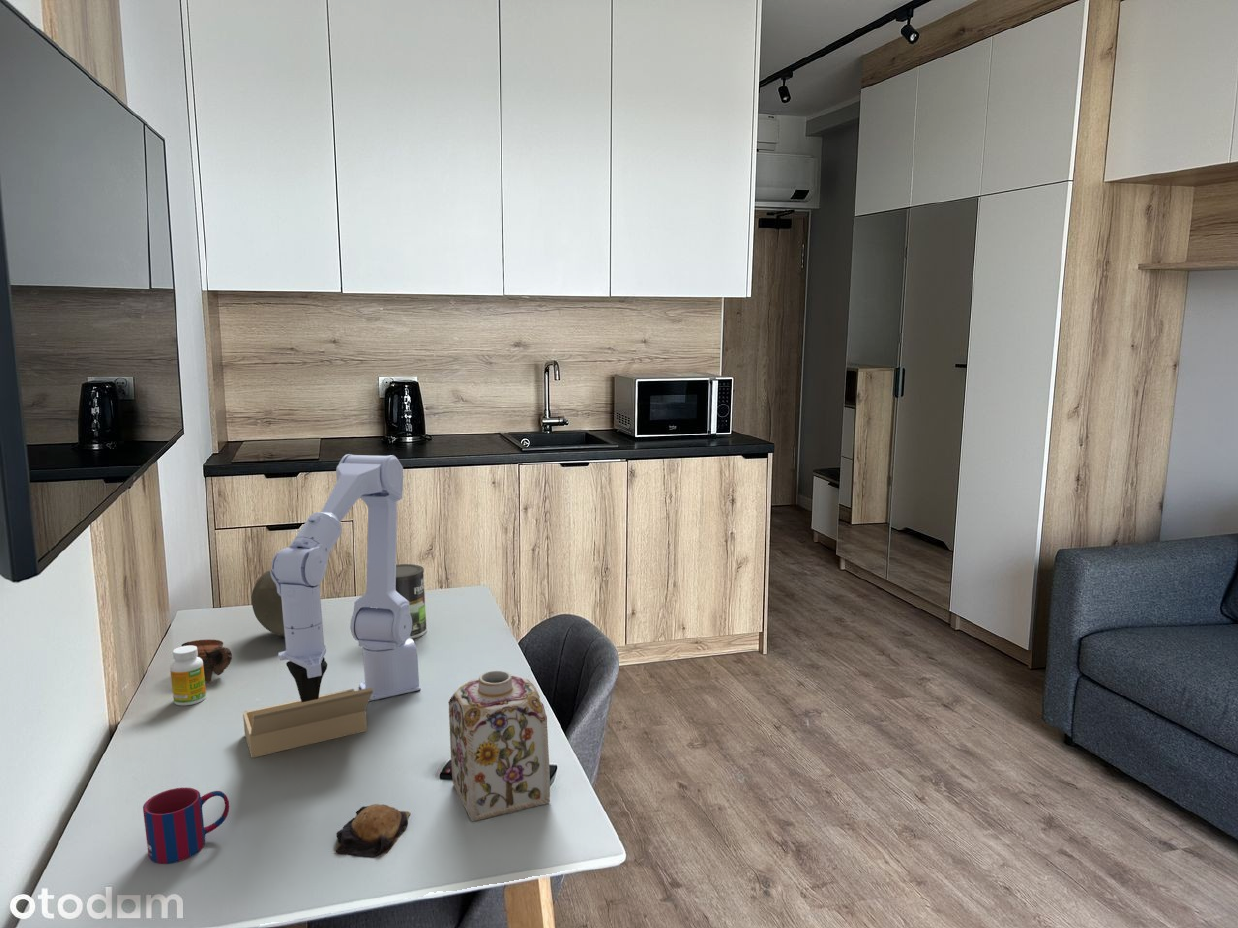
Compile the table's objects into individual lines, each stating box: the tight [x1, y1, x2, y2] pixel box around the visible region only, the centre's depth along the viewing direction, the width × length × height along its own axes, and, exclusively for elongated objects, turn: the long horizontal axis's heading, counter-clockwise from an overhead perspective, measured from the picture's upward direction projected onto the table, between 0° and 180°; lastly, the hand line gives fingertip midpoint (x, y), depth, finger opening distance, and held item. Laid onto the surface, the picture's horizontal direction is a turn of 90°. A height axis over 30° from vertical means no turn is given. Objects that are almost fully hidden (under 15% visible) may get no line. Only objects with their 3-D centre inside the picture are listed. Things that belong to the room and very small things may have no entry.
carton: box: [242, 688, 368, 759], centre depth 149 cm, size 18×9×4 cm, turn 119°
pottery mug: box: [180, 638, 233, 683], centre depth 174 cm, size 12×10×8 cm
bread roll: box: [333, 803, 411, 858], centre depth 120 cm, size 11×8×4 cm
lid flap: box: [251, 688, 373, 736], centre depth 141 cm, size 18×10×1 cm
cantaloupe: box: [251, 569, 285, 638], centre depth 194 cm, size 14×14×15 cm
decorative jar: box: [448, 670, 551, 822], centre depth 128 cm, size 12×12×18 cm
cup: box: [142, 787, 230, 865], centre depth 117 cm, size 7×10×7 cm
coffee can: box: [384, 563, 428, 640], centre depth 194 cm, size 10×10×14 cm
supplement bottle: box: [169, 645, 207, 707], centre depth 162 cm, size 5×5×10 cm
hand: (310, 704), depth 142 cm, fingers closed
